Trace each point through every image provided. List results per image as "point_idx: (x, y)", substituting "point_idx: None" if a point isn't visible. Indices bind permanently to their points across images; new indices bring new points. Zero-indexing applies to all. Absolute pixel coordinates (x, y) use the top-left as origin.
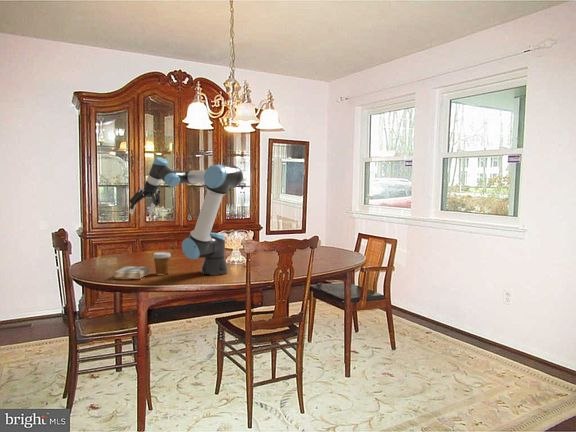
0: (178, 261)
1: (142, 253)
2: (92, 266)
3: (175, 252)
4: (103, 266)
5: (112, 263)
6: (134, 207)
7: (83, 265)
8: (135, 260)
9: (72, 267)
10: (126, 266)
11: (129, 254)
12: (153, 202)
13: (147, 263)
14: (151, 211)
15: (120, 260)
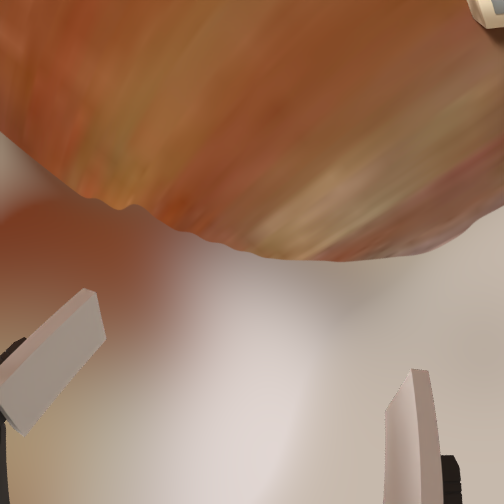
0: (114, 8)
1: (159, 211)
2: (412, 206)
3: (67, 153)
4: (398, 178)
5: (338, 184)
6: (437, 488)
7: (408, 234)
8: (242, 154)
9: (443, 240)
10: (486, 21)
11: (199, 228)
12: (3, 426)
13: (245, 71)
14: (72, 318)
15: (281, 194)
